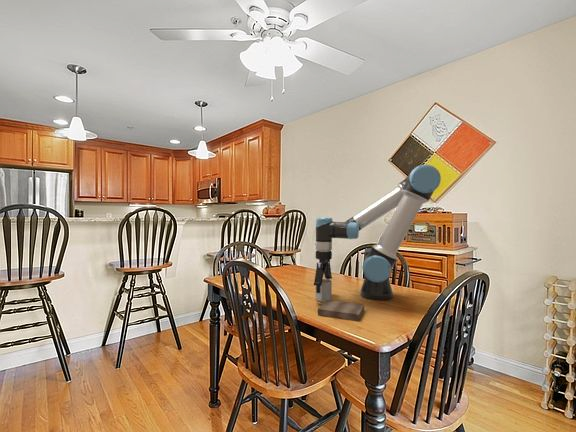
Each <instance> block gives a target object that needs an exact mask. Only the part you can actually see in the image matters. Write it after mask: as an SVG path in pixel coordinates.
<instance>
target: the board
mask: <svg viewBox="0 0 576 432" xmlns="http://www.w3.org/2000/svg"><path fill="white" fill-rule="evenodd" d="M364 312H365V304H363V303H354V302H348V301H339V300H337V301H336V300H332V299H331V300H326V301H325V302H322V304H321V305H320V306H319V307H318V308H317V316H322V317H328V318H336V319H341V320H348V321H349V320H350V321H355V322H359V321H360V320H361V318H362V316H363V314H364Z"/></svg>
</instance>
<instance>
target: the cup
mask: <svg viewBox="0 0 576 432" xmlns="http://www.w3.org/2000/svg"><path fill="white" fill-rule="evenodd" d="M332 282H333V281H332V280H331V279H330V280H327V279H326V278H323V279H322V284H321V285H322V300H316V301H317V302H319V303H324V302H325V301H326V300H331V301H332V296H333V295H332V293H333V292H332V287H333V286H332V284H333V283H332Z"/></svg>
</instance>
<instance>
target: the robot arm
mask: <svg viewBox="0 0 576 432" xmlns="http://www.w3.org/2000/svg"><path fill="white" fill-rule="evenodd" d="M441 180H442V177H441V173H440V171H439V170H438V169H437V168H436V167H435V166H434V165H430V164H421V165H418V166H416V167H414V168H413V169H411V172H410V173H409V174H408V175H407V176H406V178H404V179H403V180H402V181H400V182H399V183H398V184H397V187H395V188H394V189H392V190H390V191H389V192H388V193H386V194H384V195H383V196H382V197H380V198H378V199H377V200H376V201H374V202H373V203H371V204H370V205H368V206H367V207H365V208H363V209H362V210H361V211H359V212H358V213H357V214H355V215H353V216H352V217H350V218H348V219H347V220H345V221H333V218H332V217H325V216H324V217H322V216H321V217H319V216H318V217H317V218H316V221H315V223H316V224H315V243H314V245H315V250H316V251H315V259H316V260H319V262H316V269H315V276H314V283H313V286H315V301H317V300H322V285H321V284H322V279H327V280H331V279H333V277H332V269H331V260H332V258H333V239H345V240H346V239H347V240H353V239H354V240H356V239H358V238H359V234H360V231H361V230H363V229H364V228H366V227H367V226H369V225H371V224H372V223H374V222H375V221H376V220H378V219H380V218H381V217H383V216H384V215H386V214H387V213H390V212H391V211H392V210H394V209H395V210H394V212H393V214H392V216H391V218H390V219H389V222H388V223H387V226H386V227H385V229H384V231H383V233H382V235H381V237H380V239H379V240H378V241H377V243H376V244H374V245H372V246H371V247H370V248H365V249H364V252H363V255H364V261H363V264H362V266H361V267H362V272H363V275H364V279H363V282H362V285H361V287H360V296H361V297H363V298H365V299H369V300H373V301H374V300H377V301H388V300H390V299H393V297H394V292H393V291H394V290H393V289H392V286H391V282H390V277H391V274H392V270H393V268H394V266H395V264H396V262H397V260H398V256H397V252H398V250H399V249H400V247H401V245H402V243H403V241H404V239H405V237H406V236H407V234H408V232H409V230H410V229H411V226H412V224H413V223H414V220H415V219H416V217H417V215H418V213H419V212H420V210H421V208H422V206H423V204H426V203H428V202H429V201H430V199H431V198H432V196H433V194H434V193H435V191H436V190H437V189H438V188H439V186H440V184H441ZM323 277H324V278H323Z"/></svg>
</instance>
